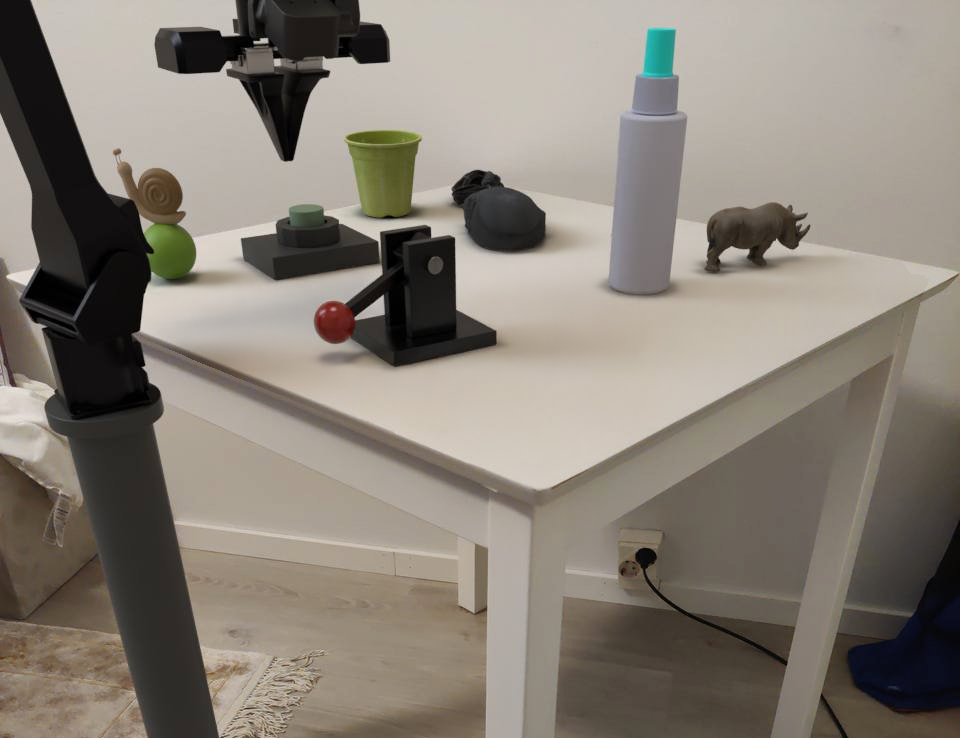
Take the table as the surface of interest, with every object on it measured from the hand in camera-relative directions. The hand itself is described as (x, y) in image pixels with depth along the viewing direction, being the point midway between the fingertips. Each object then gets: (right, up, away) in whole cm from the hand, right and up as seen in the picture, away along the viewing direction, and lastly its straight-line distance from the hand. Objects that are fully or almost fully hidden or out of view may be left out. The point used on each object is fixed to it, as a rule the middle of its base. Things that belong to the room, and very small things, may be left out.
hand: (287, 160), depth 87 cm
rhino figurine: (+46, -2, +19) cm, 50 cm away
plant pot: (+5, +11, +37) cm, 39 cm away
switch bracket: (+12, -16, 0) cm, 20 cm away
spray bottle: (+33, -7, +12) cm, 36 cm away
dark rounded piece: (+19, +10, +35) cm, 41 cm away
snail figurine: (-15, -5, +15) cm, 22 cm away
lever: (+9, -14, -4) cm, 17 cm away
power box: (-1, -1, +20) cm, 20 cm away
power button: (-1, +2, +18) cm, 18 cm away
